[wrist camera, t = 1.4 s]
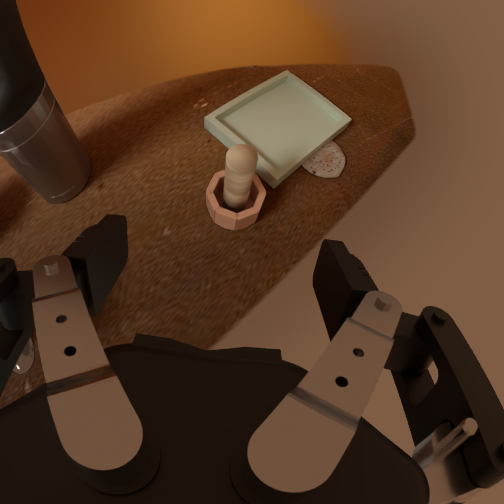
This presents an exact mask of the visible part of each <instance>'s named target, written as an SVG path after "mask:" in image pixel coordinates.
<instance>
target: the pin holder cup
mask: <svg viewBox="0 0 504 504" xmlns="http://www.w3.org/2000/svg"><path fill="white" fill-rule="evenodd" d="M224 178H225V170H223V171H220V172H217V173H216V175H215V174H214V176H213V178H212V180H211V182H210V184H209V186H208V188H207V190H206V205H207V208H208V210H209V213H210V216H211V218H212V219H213V221H214V222H215V224H218V225H219V226H221V227H223V228H225V229H228V230H241V229H244V228H246V227H248V226H250V225H251V224H254V223H255V222H256V219H257V217H258V214H259V212H260V209H261V206H262V204H263V201H264V198H265V196H266V190H265V188H264V186H263V184H262V183H261V181H260V179H259V177H258V175H256V173H254V177H253V181H252V185H251V189H250V193H249V197H248V201H247V205H246V208H245V210H244V211H242V212H239V213H235V212H232V211H229V210H227V209H224V208H223V205H222V204H223V191H224Z"/></svg>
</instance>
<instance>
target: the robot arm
mask: <svg viewBox="0 0 504 504" xmlns="http://www.w3.org/2000/svg"><path fill="white" fill-rule="evenodd" d="M0 155H1V156H2V157H3V158H4V159H5V160H6V161H7V162H8V163H9V164H10V165H11V166H12V167H13V168H14V169H15V171H16V172H17V173H18V174H19V175H20V176H21V177H22V178H23V179H24V180H25V181H26V182H27V183H28V184H29V185H30V186H31V187H32V188H33V189H34V190H35V191H36V192H37V193H38V194H40V195H41V196H42V197H43V198H44V199H45V200H46V201H47V202H50V203H53V204H59V203H64V202H66V201H69V200H70V199H72V198H74V197H75V196H76V195H77V194H78V193H79V192H80V191H81V190H82V189H83V188H84V186H85V185H86V183H87V181H88V179H89V176H90V172H91V162H90V159H89V157H88V155H87V154H86V152H85V150H84V148H83V147H82V145H81V143H80V141H79V140H78V138H77V136H76V134H75V133H74V131H73V129H72V127H71V126H70V124H69V122H68V120H67V118H66V117H65V115H64V113H63V111H62V109H61V107H60V106H59V104H58V102H57V100H56V98H55V96H54V94H53V92H52V91H51V89H50V87H49V85H48V83H47V81H46V79H45V77H44V75H43V72H42V70H41V68H40V66H39V64H38V62H37V59H36V57H35V54H34V52H33V50H32V48H31V45H30V43H29V40H28V38H27V35H26V33H25V30H24V27H23V24H22V21H21V18H20V14H19V11H18V7H17V4H16V0H0ZM127 258H128V240H127V221H126V217H125V216H123V215H112V214H107V215H106V216H105V217H104V218H103V219H102V220H101V221H100V222H99V223H98V224H97V225H93V226H91V227H89V228H87V229H85V230H84V231H83V232H82V233H81V234H80V235H79V237H77V238H76V239H75V240H74V242H72V244H71V245H70V246H69V247H68V248H67V249H66V250H65V251H64V252H63V253H62V254H61V255H50V256H47V257H44V258H42V259H40V260H39V261H37V262H36V263H35V265H34V266H33V270H29V271H17V269H16V265H15V261H14V260H13V259H11V258H0V320H1V321H0V397H1V394H2V392H3V390H4V388H5V386H6V383H7V381H8V379H9V377H10V375H11V373H12V371H13V369H14V367H15V365H16V363H17V361H18V359H19V357H20V355H21V353H22V351H23V350H24V348H25V346H26V344H27V342H28V340H29V339H30V337H31V335H32V333H33V331H34V330H36V335H37V341H38V347H39V352H40V357H41V362H42V367H43V371H44V375H45V380H46V383H45V384H43V385H41V386H40V387H38V388H36V389H34V390H33V391H31V392H29V393H28V394H26V395H24V396H23V397H21V398H19V399H17V400H16V401H14V402H12V403H11V404H9V405H7V406H6V407H4V408H2V409H0V504H463V503H465V502H466V501H468V500H470V499H472V498H473V497H475V496H477V495H479V494H480V493H482V492H484V491H485V490H487V489H489V488H490V487H492V486H493V485H495V484H496V483H498V482H499V481H501V480H502V479H504V409H503V407H502V405H501V403H500V401H499V399H498V397H497V395H496V393H495V391H494V389H493V387H492V385H491V383H490V381H489V380H488V378H487V376H486V374H485V372H484V371H483V369H482V367H481V365H480V363H479V362H478V360H477V358H476V356H475V355H474V353H473V351H472V349H471V348H470V346H469V344H468V343H467V341H466V340H465V338H464V336H463V335H462V333H461V331H460V330H459V328H458V327H457V325H456V324H455V322H454V321H453V319H452V318H451V317H450V315H449V314H448V313H446V312H445V311H443V310H442V309H439V308H437V307H433V306H427V307H425V308H424V309H423V311H422V312H421V314H420V316H415V315H411V314H408V313H404V312H402V306H401V304H400V302H399V301H398V300H397V299H396V298H394V297H393V296H391V295H390V294H387V293H385V292H382V291H379V290H378V288H377V286H376V285H375V283H374V282H373V280H372V278H371V276H369V273H368V272H367V270H365V267H364V265H363V264H362V262H361V261H360V260H359V259H358V258H357V257H355V256H354V255H353V254H350V253H349V251H348V250H347V248H346V246H345V245H344V243H343V242H342V241H336V240H328V239H324V240H323V242H322V245H321V248H320V252H319V255H318V259H317V262H316V266H315V269H314V273H313V288H314V291H315V294H316V297H317V300H318V303H319V306H320V309H321V313H322V316H323V319H324V322H325V325H326V329H327V332H328V335H329V338H330V344H329V345H328V346H327V348H326V349H325V350H324V352H323V353H322V355H321V356H320V357H319V359H318V360H317V361H316V363H315V364H314V365H313V367H312V368H311V369H310V371H307V370H305V369H303V368H302V367H300V366H298V365H295V364H293V363H290V362H287V361H284V360H282V357H281V350H280V349H266V348H252V347H240V348H230V349H219V350H204V349H200V348H197V347H194V346H191V345H188V344H185V343H182V342H179V341H176V340H173V339H170V338H163V337H157V336H150V335H144V334H138V333H136V335H135V338H134V341H133V343H128V344H120V345H116V346H112V347H109V348H106V349H103V348H102V346H101V343H100V341H99V339H98V336H97V334H96V331H95V329H94V326H93V323H92V321H91V318H90V316H89V315H94V316H97V314H98V312H99V310H100V308H101V307H102V305H103V303H104V301H105V299H106V298H107V296H108V294H109V292H110V291H111V289H112V287H113V285H114V284H115V282H116V280H117V279H118V277H119V275H120V273H121V272H122V270H123V268H124V267H125V265H126V262H127ZM433 360H434V362H435V365H436V367H437V369H438V380H437V383H436V384H435V385H434V382H433V380H432V378H431V375H430V373H429V371H428V369H427V368H428V367H429V365H430V364H431V363H432V361H433ZM383 368H385V369H389V370H391V373H392V376H393V379H394V382H395V384H396V387H397V390H398V393H399V396H400V399H401V402H402V405H403V408H404V412H405V415H406V418H407V421H408V425H409V428H410V431H411V435H412V438H413V442H414V445H415V449H414V451H413V454H412V457H410V456H409V455H408V454H406V453H405V452H404V451H403V450H402V449H400V448H399V447H398V446H397V445H395V444H394V443H393V442H392V441H390V440H389V439H388V438H387V437H386V436H384V435H383V434H382V433H381V432H379V431H378V430H377V429H376V428H375V427H374V426H372V425H371V424H370V423H369V422H367V421H366V420H365V419H364V418H362V416H361V415H362V414H363V412H364V409H365V407H366V405H367V403H368V401H369V399H370V397H371V395H372V392H373V391H374V388H375V386H376V384H377V382H378V379H379V377H380V374H381V372H382V370H383Z"/></svg>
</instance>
